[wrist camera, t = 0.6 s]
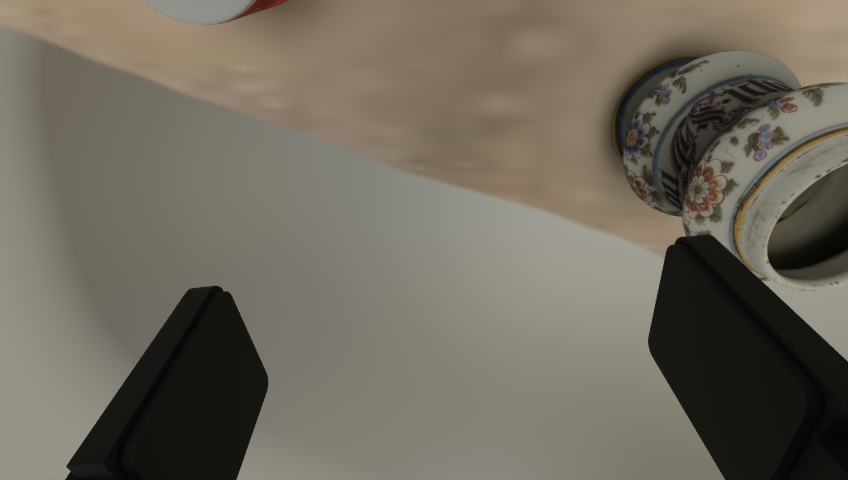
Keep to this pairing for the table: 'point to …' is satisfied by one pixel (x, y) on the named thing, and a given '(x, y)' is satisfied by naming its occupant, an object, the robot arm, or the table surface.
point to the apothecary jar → (744, 161)
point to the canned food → (209, 9)
